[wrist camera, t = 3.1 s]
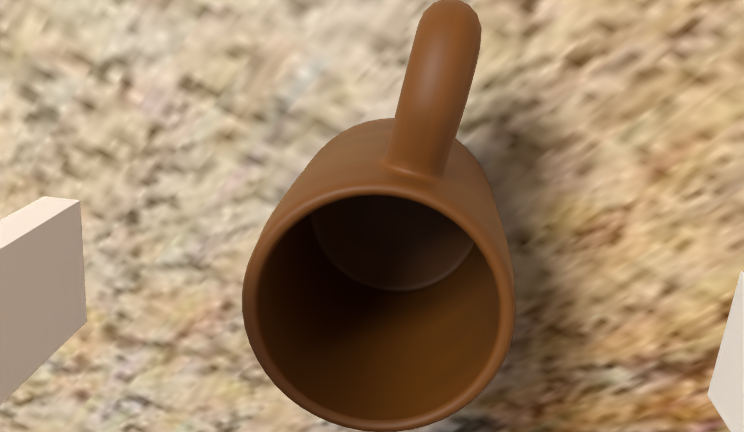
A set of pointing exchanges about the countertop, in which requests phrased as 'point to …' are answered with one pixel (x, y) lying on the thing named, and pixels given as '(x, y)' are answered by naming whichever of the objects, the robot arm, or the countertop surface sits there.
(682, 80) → the countertop surface
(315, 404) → the mug
